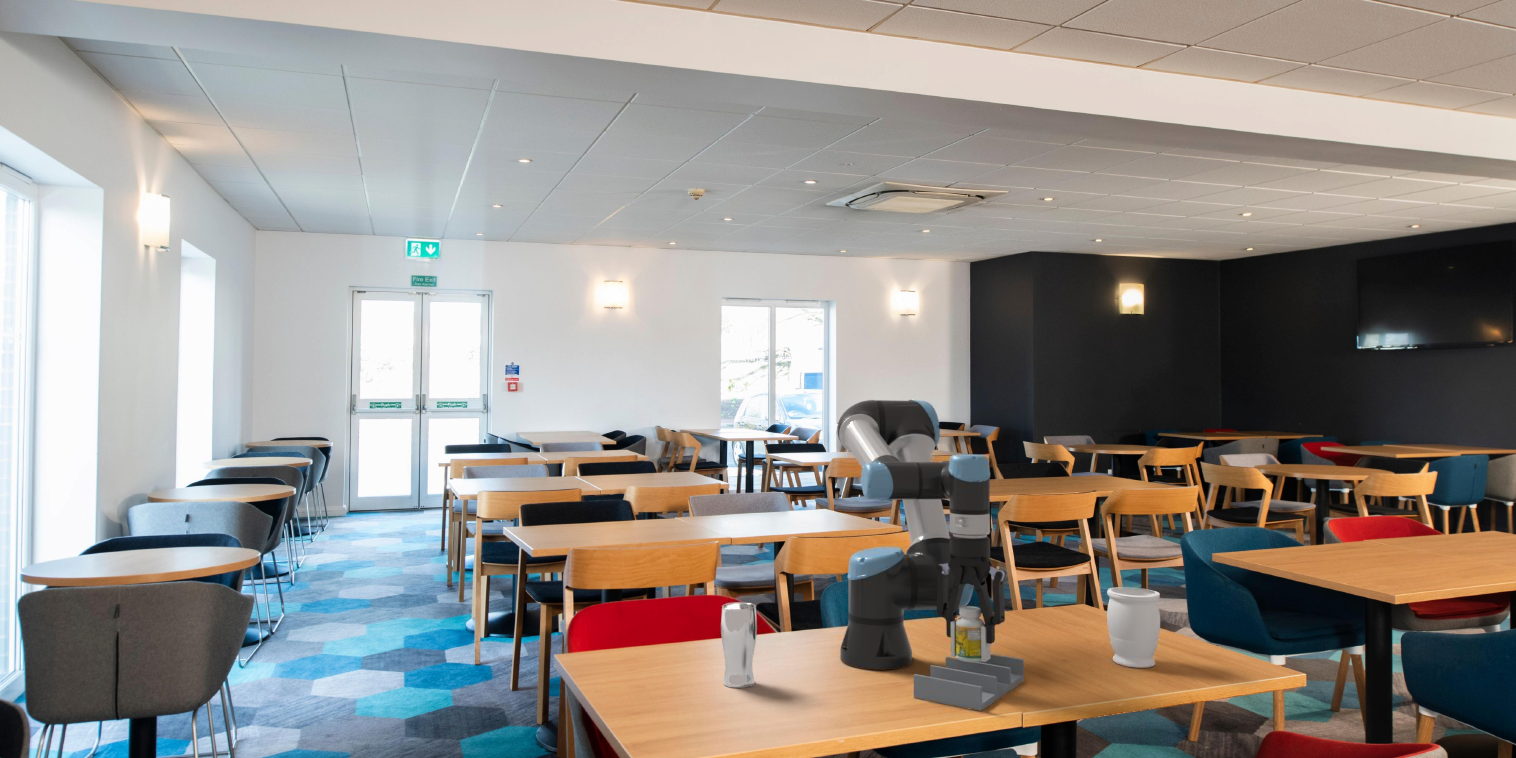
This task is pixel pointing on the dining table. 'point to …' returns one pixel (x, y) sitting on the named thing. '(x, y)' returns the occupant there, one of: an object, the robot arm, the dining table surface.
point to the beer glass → (738, 643)
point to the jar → (1133, 625)
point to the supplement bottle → (969, 634)
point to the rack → (970, 681)
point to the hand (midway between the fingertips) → (970, 657)
